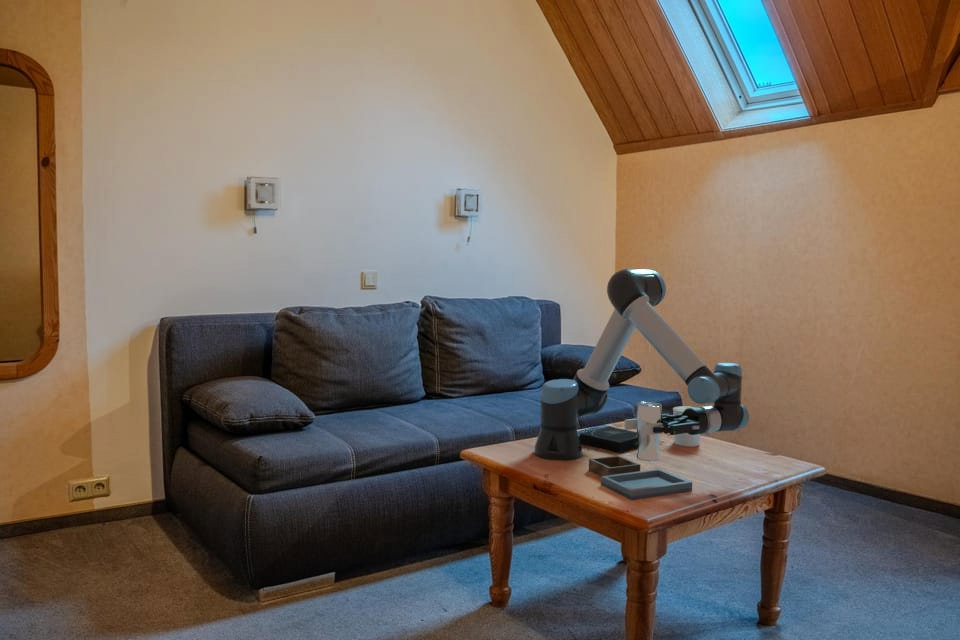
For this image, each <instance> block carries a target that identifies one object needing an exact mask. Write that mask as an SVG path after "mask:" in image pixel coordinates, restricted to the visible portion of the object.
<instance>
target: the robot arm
mask: <svg viewBox="0 0 960 640" xmlns="http://www.w3.org/2000/svg"><path fill="white" fill-rule="evenodd" d="M666 292H667V285H666V284H665V279H664V277H662V275H661V274H660V273H659V272H657V271H655V270H652V269H648V268H640V269H639V268H638V269H637V268H625V269H620V270H618V271H616V272H615V273H614V274H613V275H612V276H611V277H610V278H609V280H608V283H607V286H606V294H607V298H608V300H609V301H610V303H611V306H612V307H613V308H614V310H613V312H612V314H611V316H610V318H609V319H608V321H607V322H606V325H605V327H604V329H603V331H602V334H601V335H600V337H599V339H598V341H597V342H596V345H595V347H594V349H593V351H592V352H591V355H590V357H589V358H588V360H587V362H586V364H585V366H584V368H580V369H578V370H577V372H576V374H575V375H574V377H573V379H569V378H559V379H551V380H547V381H546V382H544V383H543V384H542V386H541V392H540V430H539V432H538V435H537V438H536V442H535V445H534V454H535V455H536V456H537V457H539V458H543V459H548V460H559V461H561V460H562V461H568V460H569V461H570V460H574V459H578V458H581V457H582V456H583V448H582V447H583V446H582V444H581V443H580V440H579V433H578V419H579V418H582V417H586V416H591V415H595V414H597V413H599V412H600V411H602V410H603V409H604V408H605V407H606V406H607V405H608V401H609V395H610V394H609V393H608V392H609V388H610V383H609V379H610V377H611V376H612V373H613V372H614V369H615V367H616V366H617V364H618V362H619V360H620V358H621V357H622V355H623V353H624V351H625V349H626V347H627V345H628V344H629V342H630V340H631V338H632V335H633V334H634V332H635V330H636V329H637V330H638V331H639V332H640V334H641V335H642V336H643V337H644V338H645V340H647V341H648V343H649V344H650V345H651V346H652V347H653V348H654V350H655V351H656V352H657V353H658V354H659V355H660V356H661V357H662V358H663V359H664V361H665V362H666V363H667V364H668V365H669V367H671V369H672V370H673V371H674V372H675V373H676V374H677V376H678V377H679V378H680V379H681V381H683V382H684V384H685V385H686V386H687V394H688V397H689V398H690V399H691V401H693V402H694V403H696V404H699V405H704V406H698V407H695V406H694V407H695V408H688V409H686V410H685V411H684V412H683V414H682V415H681V414H675V415H673V414H670V413H669V412H668V413H662V423H658V424H647V425H641V435H642V436H645V435H654V434H660V435H661V434H665V435H670V436H674V435H676V434H683V433H688V434H690V435H696V434H700V435H702V434H705V435H710V433H721V432H734V431H737V430H738V431H739V430H741V429H744V428H745V427H747V425H749V421H750V414H749V412H748V411H749V410H748V408H747V406H745V405H744V404H742V382H743V373H742V372H743V370H742V369H743V368H742V366H741V365H740V364H738V363H732V362H718V363H715V365H714V370H713V372H712V371H711V370H710V369H709V367H708V366H707V365H706V364H705V363H704V361H702V359H701V358H700V357H699V356H698V355H697V354H696V353H695V351H693V349H691V347H690V346H689V345H688V344H687V343H686V342H685V341H684V340H683V338H682V337H681V336H680V335H679V334H678V333H677V332H676V331H675V330H674V329H673V327H672V326H670V324H669V323H668V322H667V320H665V319H664V318H663V316H662V315H661V314H660V313H659V312H658V310H657V309H655V307H656V306H658V305H659V304H661V302H663V300H664V298H665V297H666ZM712 403H713V405H708V404H712ZM706 404H707V405H706ZM624 430H628V431H632V430H637V428H636V418H631V419H629V418H628V419H624Z"/></svg>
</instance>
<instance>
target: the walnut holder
mask: <svg viewBox="0 0 960 640" xmlns="http://www.w3.org/2000/svg"><path fill="white" fill-rule="evenodd" d="M588 471H589V472H591V473H592V474H595V475H597V476H599V477H601V476H608V475H615V474H623V473H630V472H638V471H641V464H640V463H638V462H635V461H633V460H630V459H628V458H626V457H624V456H621V455H612V456H606V457H605V456H604V457H594V458H589V459H588Z"/></svg>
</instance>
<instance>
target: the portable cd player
mask: <svg viewBox="0 0 960 640" xmlns="http://www.w3.org/2000/svg"><path fill="white" fill-rule="evenodd" d="M578 436H579V440H580V443H581V446H582V445H583V446H587V447H591V448H596V449H600V450H603V451H608V452H613V453H615V454H623V453H625V452H629V451H633V450H636V449H638V435H637V431H632V430H625V428H618V427H613V426H605V427H600V428H597V429H596V428H595V429H593V430H588V431H584V432H581V433H579V434H578Z"/></svg>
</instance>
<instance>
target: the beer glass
mask: <svg viewBox="0 0 960 640" xmlns="http://www.w3.org/2000/svg"><path fill="white" fill-rule="evenodd" d="M662 414H663V405H662V403H659V402H653V401H641V402H638V403H637V404H636V412H635V419H636V428H637V429H636V432H637V435H638V448H637V453H636V459H637V460H639V461H644V462H656V461H660V451H659V443H660V442H659V441H660V436H661V434H654V435H645V436H642V435H641V425H647V424H658V423H662Z"/></svg>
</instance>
